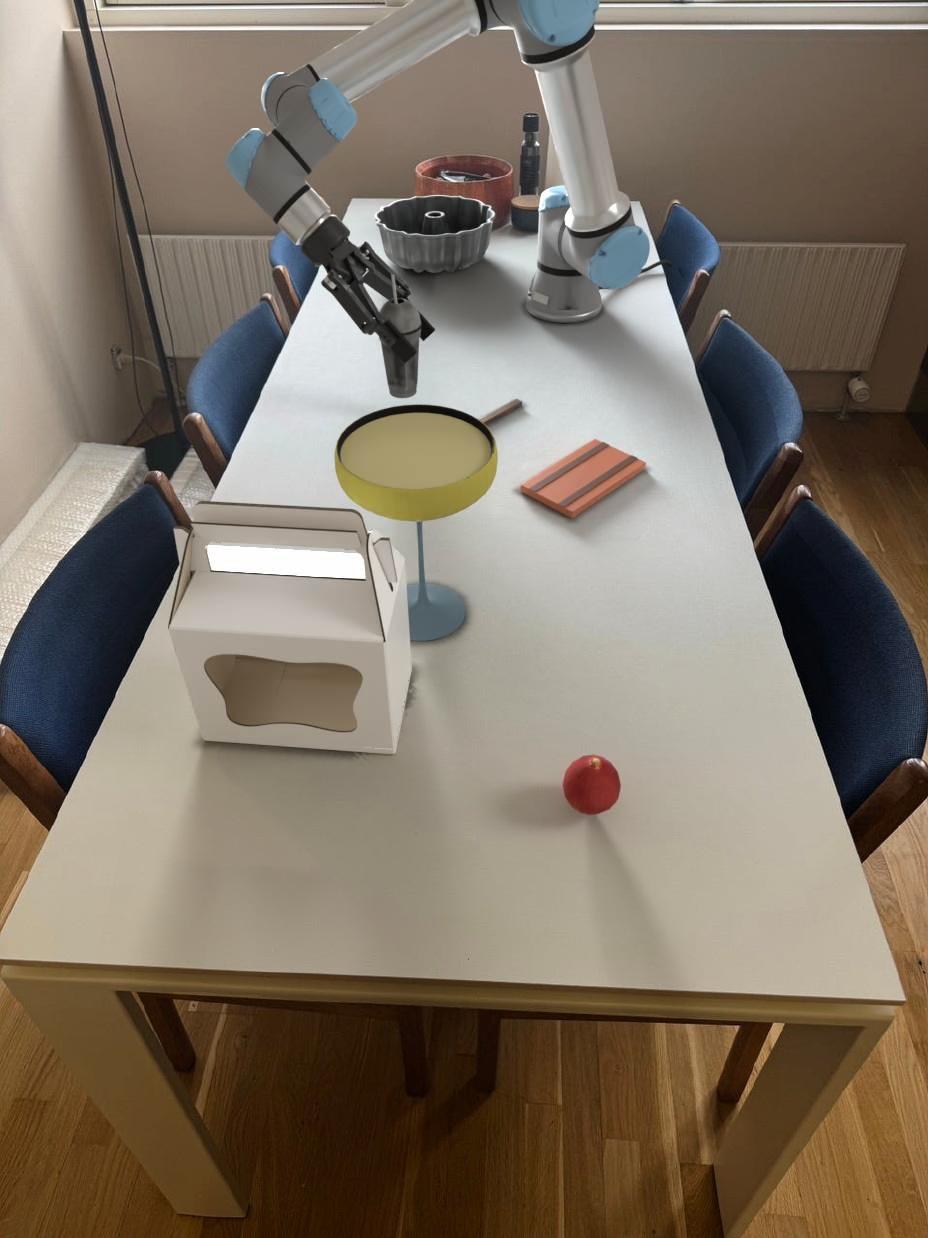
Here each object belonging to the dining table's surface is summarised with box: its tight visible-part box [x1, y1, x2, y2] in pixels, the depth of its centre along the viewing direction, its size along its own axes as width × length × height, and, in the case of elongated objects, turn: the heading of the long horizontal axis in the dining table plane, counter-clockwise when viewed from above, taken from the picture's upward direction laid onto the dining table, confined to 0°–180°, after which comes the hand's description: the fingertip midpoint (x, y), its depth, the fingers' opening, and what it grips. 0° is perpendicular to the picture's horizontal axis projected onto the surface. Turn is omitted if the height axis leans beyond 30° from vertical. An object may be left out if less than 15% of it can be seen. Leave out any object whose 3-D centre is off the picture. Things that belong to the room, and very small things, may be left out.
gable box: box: [167, 500, 413, 755], centre depth 95 cm, size 22×13×28 cm, turn 85°
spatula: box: [477, 398, 523, 426], centre depth 149 cm, size 21×6×1 cm, turn 136°
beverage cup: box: [378, 274, 422, 399], centre depth 142 cm, size 7×7×20 cm
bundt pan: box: [374, 194, 496, 274], centre depth 199 cm, size 26×26×10 cm
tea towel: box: [520, 438, 647, 519], centre depth 137 cm, size 18×10×1 cm, turn 136°
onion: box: [562, 754, 622, 816], centre depth 91 cm, size 6×6×8 cm
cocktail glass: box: [334, 403, 499, 642], centre depth 107 cm, size 18×18×25 cm
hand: (420, 346), depth 142 cm, fingers closed on beverage cup, 7 cm apart
